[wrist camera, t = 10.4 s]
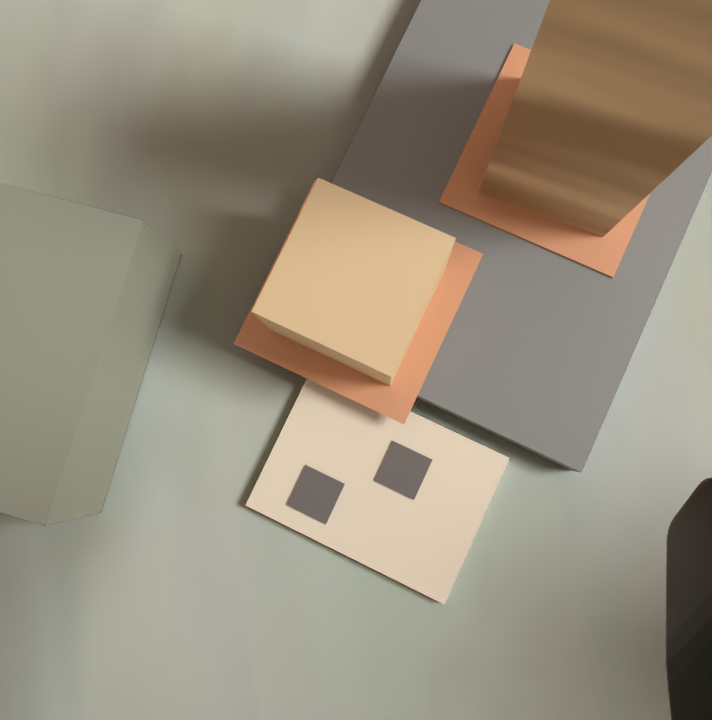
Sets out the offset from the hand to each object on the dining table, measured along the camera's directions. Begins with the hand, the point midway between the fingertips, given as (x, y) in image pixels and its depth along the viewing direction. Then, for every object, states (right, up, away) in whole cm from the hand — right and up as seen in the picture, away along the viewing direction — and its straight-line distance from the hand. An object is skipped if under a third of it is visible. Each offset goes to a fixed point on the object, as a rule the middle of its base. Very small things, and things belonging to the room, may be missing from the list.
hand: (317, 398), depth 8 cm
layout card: (+1, -3, +13) cm, 14 cm away
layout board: (+5, +6, +14) cm, 16 cm away
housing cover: (-10, +1, +14) cm, 18 cm away
